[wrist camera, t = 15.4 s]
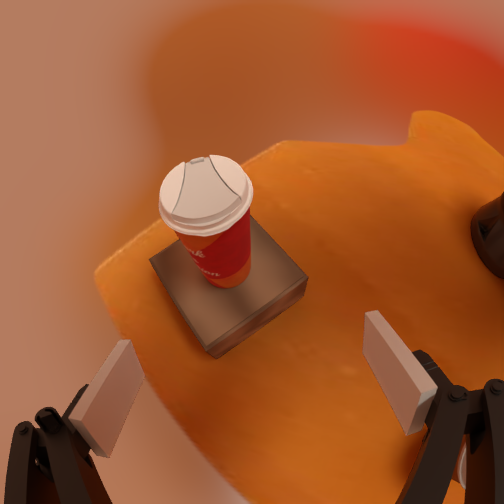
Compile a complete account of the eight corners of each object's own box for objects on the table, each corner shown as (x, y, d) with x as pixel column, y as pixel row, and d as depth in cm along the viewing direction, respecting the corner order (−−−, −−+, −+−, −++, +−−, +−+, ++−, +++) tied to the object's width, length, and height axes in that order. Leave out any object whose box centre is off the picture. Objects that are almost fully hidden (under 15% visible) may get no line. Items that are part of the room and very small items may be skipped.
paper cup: (190, 247, 35) (153, 164, 23) (251, 232, 35) (239, 142, 23) (200, 305, 31) (155, 238, 19) (268, 289, 32) (264, 210, 19)
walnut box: (242, 227, 43) (237, 200, 38) (303, 295, 37) (308, 276, 32) (164, 278, 40) (147, 258, 35) (216, 359, 34) (205, 351, 29)
